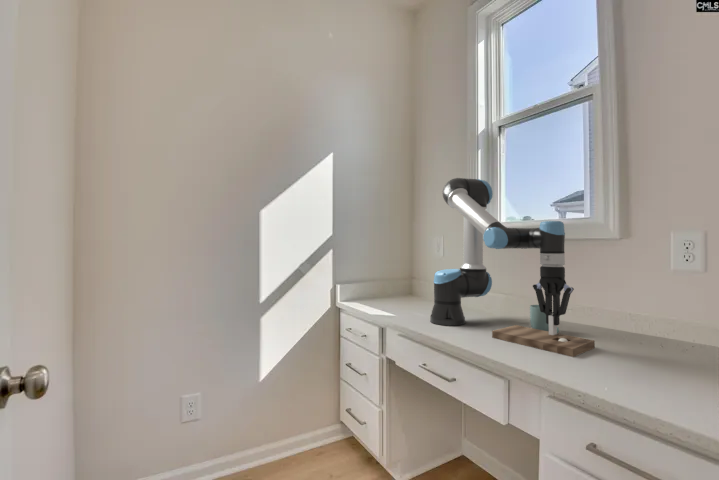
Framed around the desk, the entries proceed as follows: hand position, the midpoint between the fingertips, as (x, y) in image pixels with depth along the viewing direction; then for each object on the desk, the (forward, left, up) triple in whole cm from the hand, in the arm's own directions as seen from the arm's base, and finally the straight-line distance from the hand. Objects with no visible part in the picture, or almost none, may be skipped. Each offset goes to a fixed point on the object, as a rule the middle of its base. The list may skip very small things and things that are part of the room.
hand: (552, 334), depth 121 cm
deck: (-4, 0, -4) cm, 6 cm away
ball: (+3, 0, -2) cm, 4 cm away
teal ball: (-2, +6, 0) cm, 6 cm away
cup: (-12, +16, -4) cm, 21 cm away
